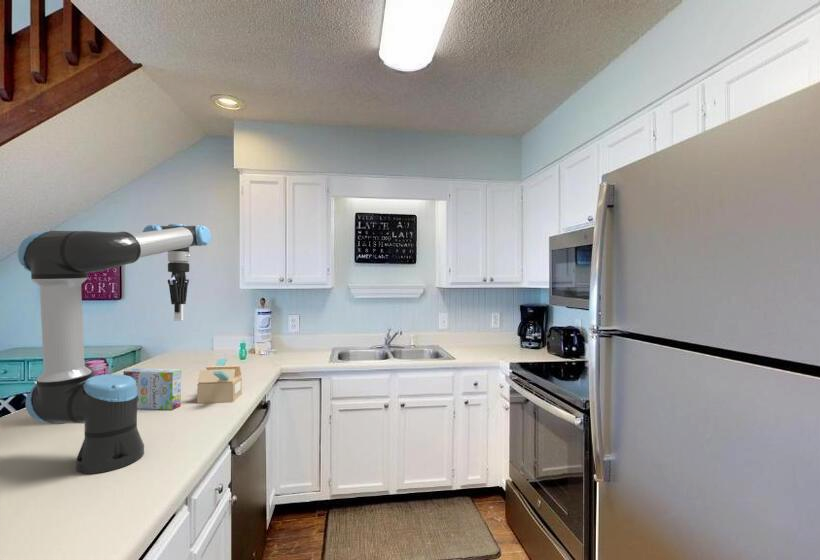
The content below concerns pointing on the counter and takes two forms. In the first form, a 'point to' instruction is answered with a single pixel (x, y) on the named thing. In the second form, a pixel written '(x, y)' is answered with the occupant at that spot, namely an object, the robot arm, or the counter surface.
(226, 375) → the flap near
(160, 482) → the counter surface
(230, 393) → the carton
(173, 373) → the snack box
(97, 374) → the gum box
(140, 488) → the counter surface
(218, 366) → the flap far
